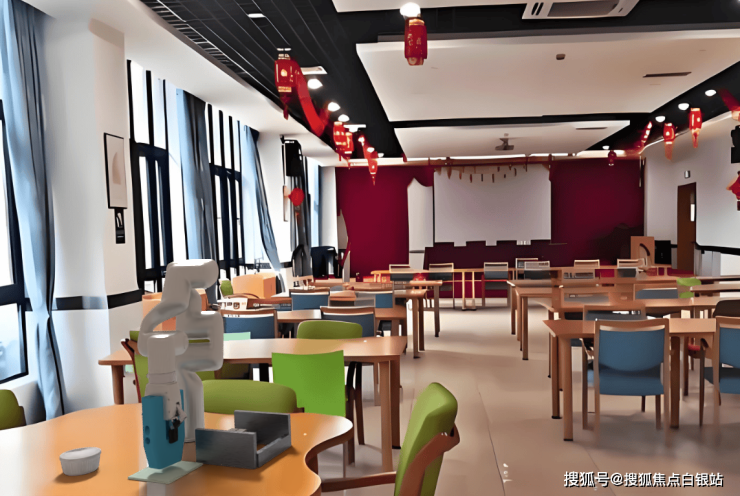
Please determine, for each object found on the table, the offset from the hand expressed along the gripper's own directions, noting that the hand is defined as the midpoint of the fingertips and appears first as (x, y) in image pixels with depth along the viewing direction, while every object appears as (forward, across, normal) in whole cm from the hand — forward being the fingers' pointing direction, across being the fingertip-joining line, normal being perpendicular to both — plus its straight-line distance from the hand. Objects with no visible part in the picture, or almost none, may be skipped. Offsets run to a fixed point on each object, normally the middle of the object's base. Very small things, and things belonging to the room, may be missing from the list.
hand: (164, 440), depth 177 cm
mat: (+9, 0, 0) cm, 9 cm away
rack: (+9, +14, +20) cm, 26 cm away
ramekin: (+9, -26, -6) cm, 28 cm away
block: (+7, 0, 0) cm, 7 cm away
